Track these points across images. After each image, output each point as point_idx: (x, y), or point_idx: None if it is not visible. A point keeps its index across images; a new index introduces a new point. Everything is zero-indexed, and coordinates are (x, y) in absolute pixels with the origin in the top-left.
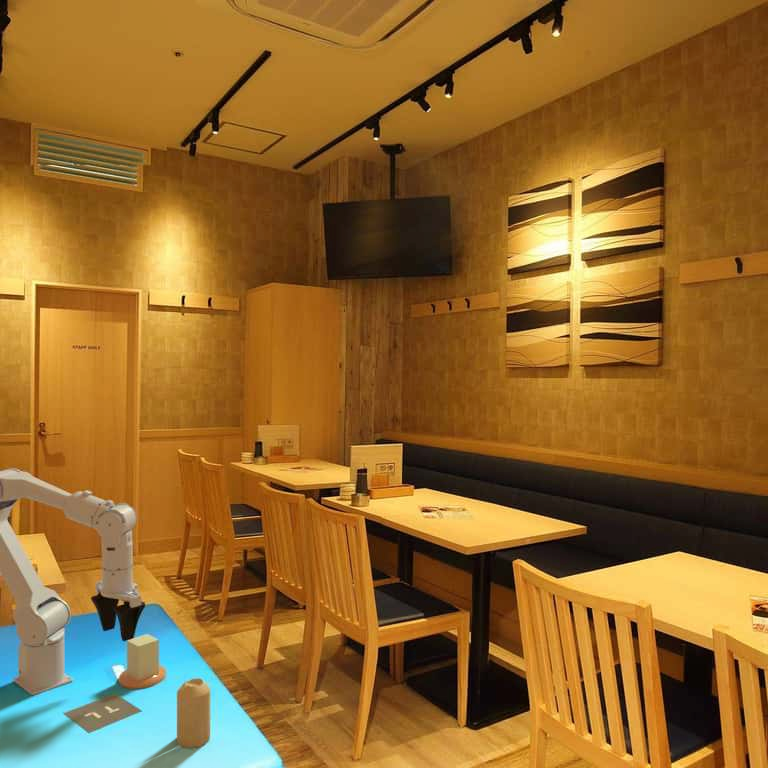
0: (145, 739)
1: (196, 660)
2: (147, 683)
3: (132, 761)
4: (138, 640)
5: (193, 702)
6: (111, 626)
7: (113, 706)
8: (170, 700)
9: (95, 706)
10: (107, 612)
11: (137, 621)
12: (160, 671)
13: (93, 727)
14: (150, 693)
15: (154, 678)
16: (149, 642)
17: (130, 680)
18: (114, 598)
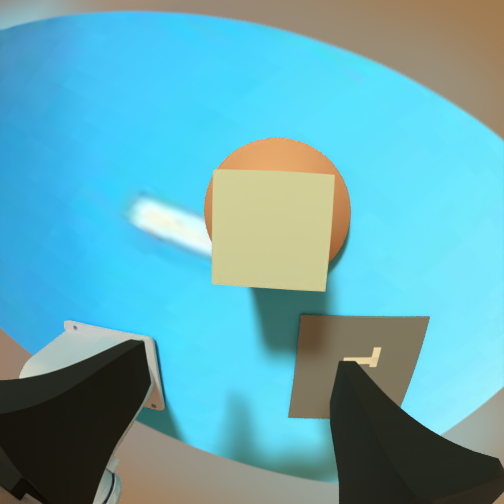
0: (489, 356)
1: (292, 35)
2: (344, 239)
3: (499, 389)
4: (258, 250)
5: None
6: (140, 362)
7: (358, 350)
8: (443, 240)
9: (320, 373)
10: (102, 428)
11: (403, 413)
12: (307, 164)
13: None
14: (375, 250)
15: (336, 207)
16: (327, 228)
17: None
18: (42, 447)
